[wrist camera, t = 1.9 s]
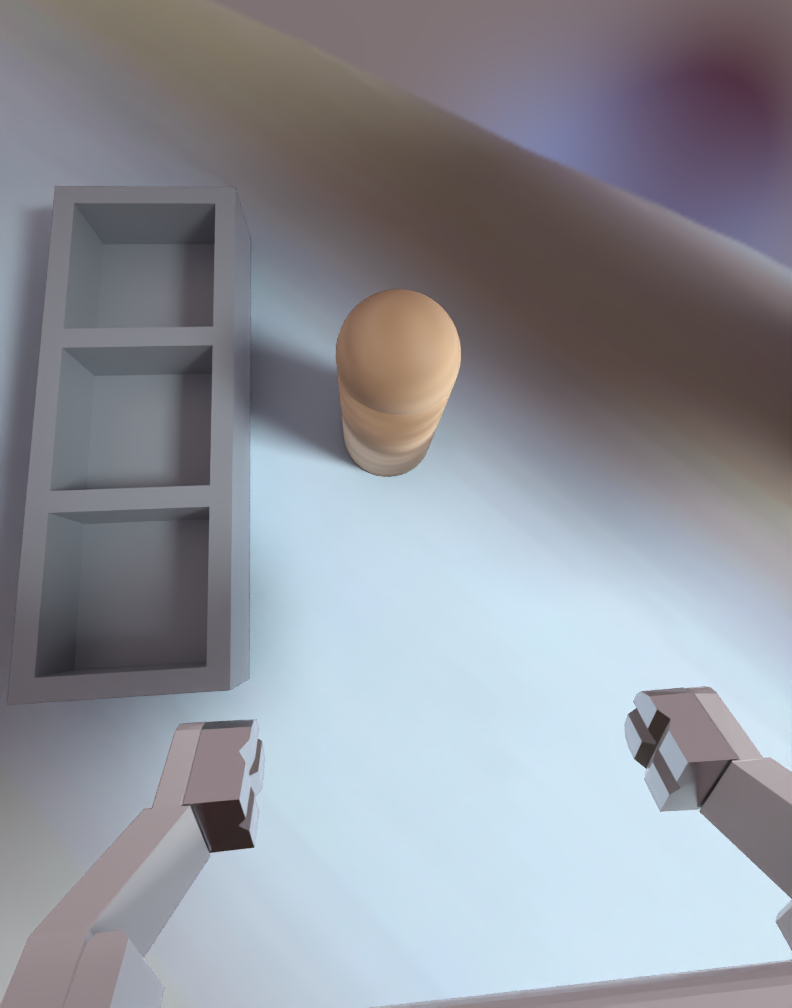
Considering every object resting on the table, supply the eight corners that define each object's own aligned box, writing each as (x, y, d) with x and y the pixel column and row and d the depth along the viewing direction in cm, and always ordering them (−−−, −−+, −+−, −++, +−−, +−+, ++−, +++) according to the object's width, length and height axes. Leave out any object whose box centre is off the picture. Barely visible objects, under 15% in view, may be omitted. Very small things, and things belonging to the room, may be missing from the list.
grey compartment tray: (250, 238, 31) (235, 187, 27) (249, 678, 25) (230, 690, 22) (93, 238, 30) (55, 186, 26) (59, 690, 25) (6, 704, 21)
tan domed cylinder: (427, 393, 29) (467, 259, 18) (432, 475, 28) (478, 386, 17) (342, 395, 29) (330, 260, 18) (345, 478, 28) (334, 389, 17)
